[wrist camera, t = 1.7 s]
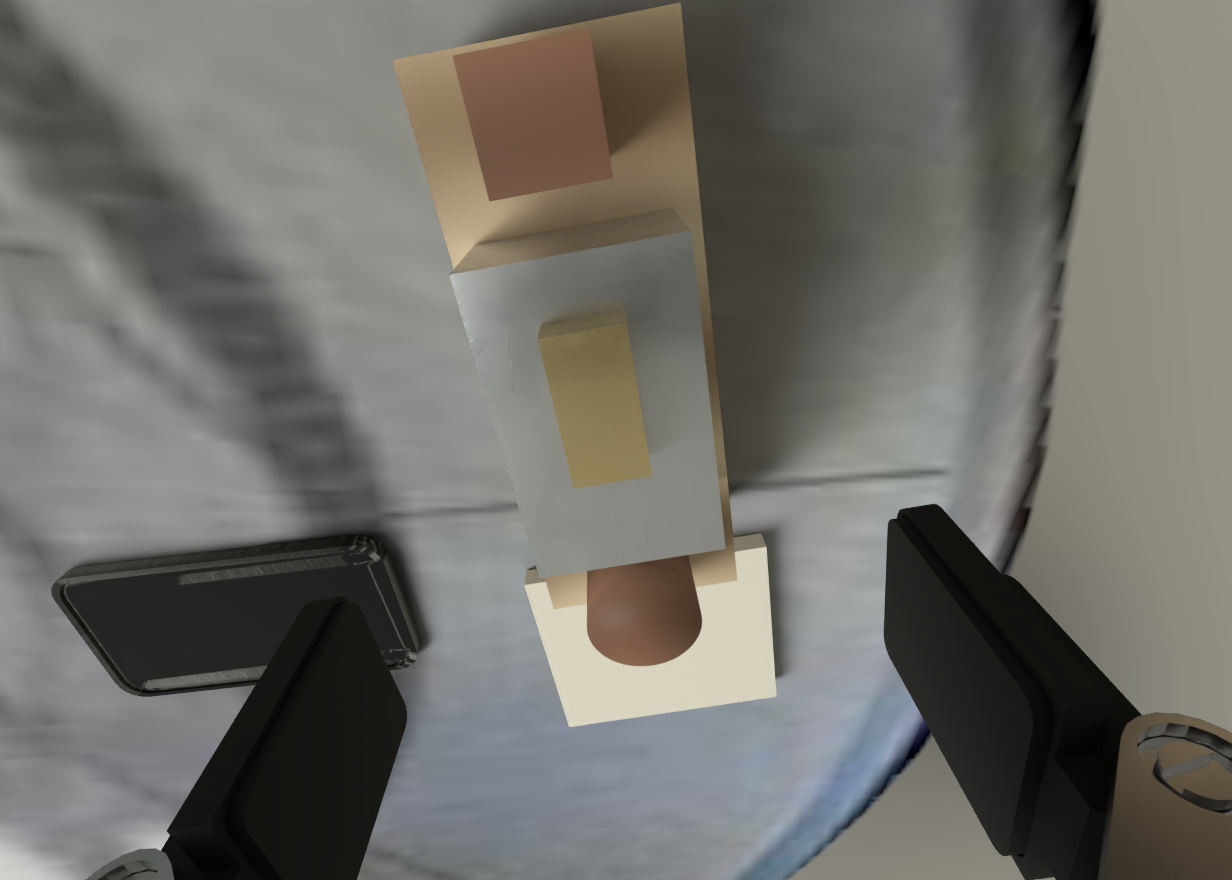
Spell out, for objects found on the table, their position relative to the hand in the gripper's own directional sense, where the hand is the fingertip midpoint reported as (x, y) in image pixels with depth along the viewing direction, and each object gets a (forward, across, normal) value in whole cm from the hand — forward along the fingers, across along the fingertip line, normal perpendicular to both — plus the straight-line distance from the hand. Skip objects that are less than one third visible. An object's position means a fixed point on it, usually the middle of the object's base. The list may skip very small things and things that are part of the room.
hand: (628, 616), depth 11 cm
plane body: (+14, 0, -1) cm, 15 cm away
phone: (+15, +19, +10) cm, 27 cm away
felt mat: (+15, 0, +15) cm, 21 cm away
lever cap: (+10, 0, -1) cm, 10 cm away
